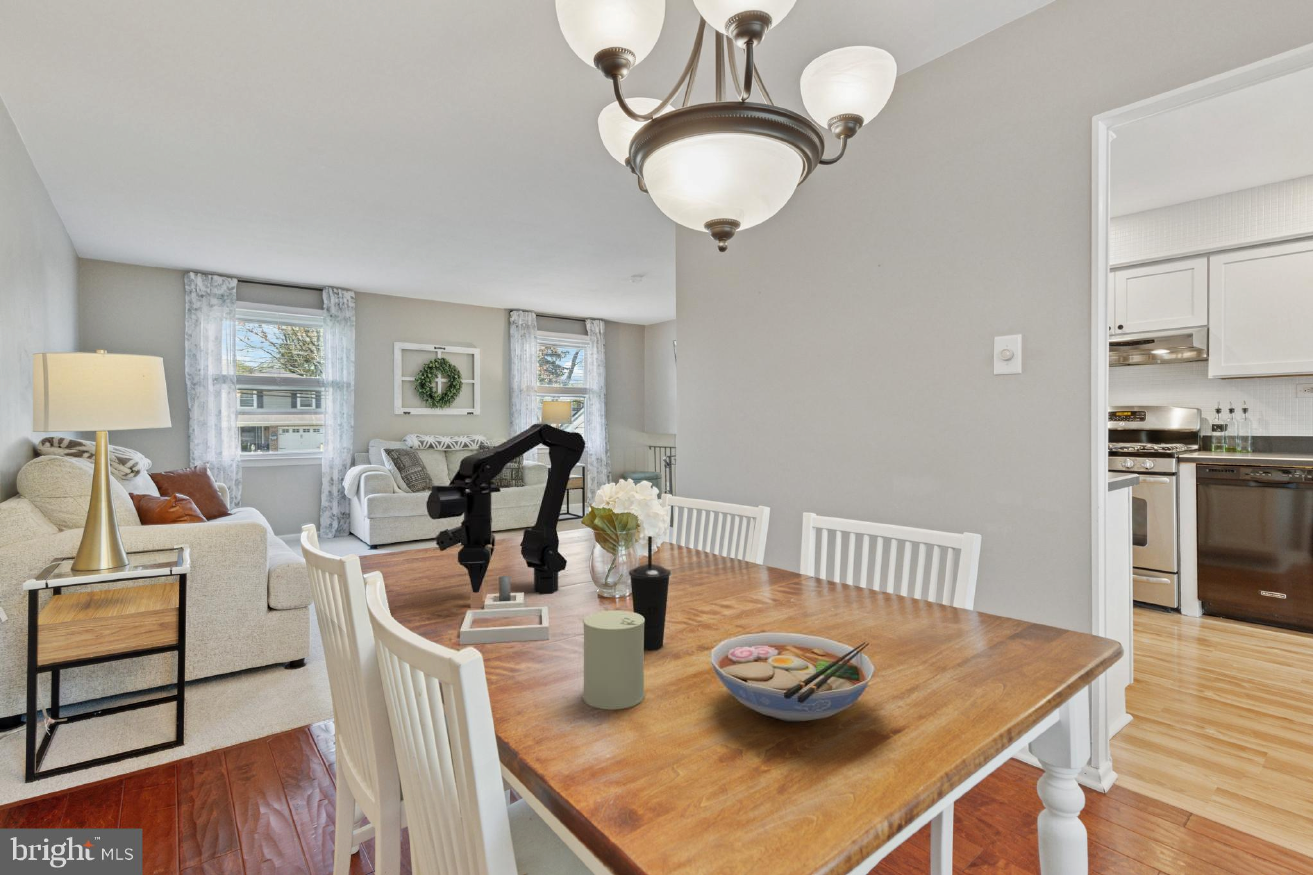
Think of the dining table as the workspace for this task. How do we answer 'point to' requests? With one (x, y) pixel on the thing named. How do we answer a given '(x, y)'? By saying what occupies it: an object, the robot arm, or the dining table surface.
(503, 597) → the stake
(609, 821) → the dining table surface
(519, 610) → the tray
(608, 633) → the can
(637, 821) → the dining table surface
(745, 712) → the dining table surface
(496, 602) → the ring
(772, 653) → the ramen bowl
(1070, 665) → the dining table surface
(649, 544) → the drinking cup
